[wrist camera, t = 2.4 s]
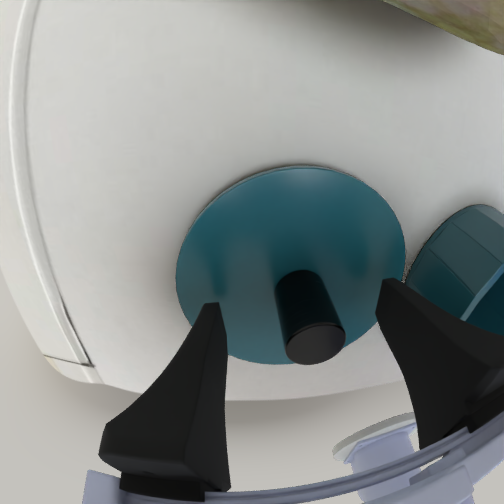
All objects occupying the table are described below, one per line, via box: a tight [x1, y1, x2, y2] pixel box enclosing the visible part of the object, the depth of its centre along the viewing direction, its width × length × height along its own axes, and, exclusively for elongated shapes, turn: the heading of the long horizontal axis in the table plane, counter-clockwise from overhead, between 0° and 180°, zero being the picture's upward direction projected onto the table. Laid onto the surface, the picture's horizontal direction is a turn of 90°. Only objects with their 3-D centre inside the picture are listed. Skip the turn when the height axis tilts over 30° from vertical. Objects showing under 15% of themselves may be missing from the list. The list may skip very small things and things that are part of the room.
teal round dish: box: [405, 205, 504, 336], centre depth 12 cm, size 10×10×5 cm
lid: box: [176, 166, 405, 365], centre depth 12 cm, size 11×11×5 cm
